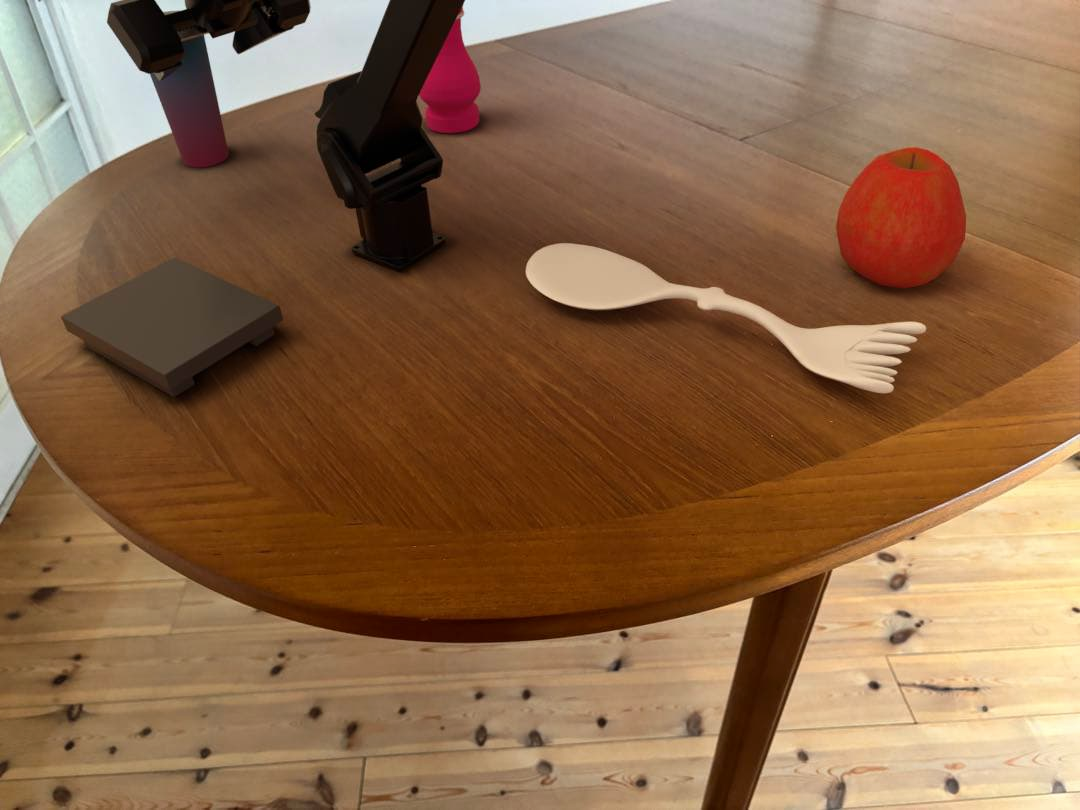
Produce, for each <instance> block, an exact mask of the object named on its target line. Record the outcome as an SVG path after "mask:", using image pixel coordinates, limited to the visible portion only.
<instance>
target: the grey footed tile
mask: <svg viewBox="0 0 1080 810" xmlns="http://www.w3.org/2000/svg"><path fill="white" fill-rule="evenodd" d="M60 318H61V321H62V322H63V325H64V327H65V329H66V332H68V333H69V334H72V335H73V336H75V337H77V338H78V339H81V340H82V341H83V342H84V345H85V347H86V348H87V349H89V350H91V351H93V352H94V353H96V354H98V355H99V356H101V357H103V358H105V359H107V360H108V361H110V362H112V363H114V364H115V365H117V366H119V367H120V368H122V369H124V370H126V371H127V372H129V373H131V374H132V375H134V376H136V377H138V378H140V379H141V380H143V381H145V382H146V383H148V384H150V385H151V386H153V387H155V388H157V389H159V390H160V391H162V392H164V393H166V394H167V395H169V396H171V397H173V398H176V397H177V396H179V395H180V394H183V392H185V391H187V390H188V389H190V388H192V387H194V386H195V385H196V383H195V381H194V378H193V377H194V376H196V375H198V374H200V373H201V372H203V371H204V370H206V369H207V368H209V367H210V366H212V365H214V364H215V363H217V362H219V361H220V360H222V359H224V358H225V357H226V356H228V355H229V354H231V353H233V352H234V351H237V350H238V349H239V348H241V347H243V346H244V345H246V344H247V343H249V344H251V345H252V346H253V345H254V346H258V345H261V344H262V343H264V342H265V341H266V340H268V339H270V338H272V336H274V335H275V330H274V327H275V326H276V325H278V324H280V323H281V322H283V321H284V318H283V314H282V310H281V307H280V304H278V303H276V302H273V301H271V300H269V299H267V298H264V297H262V296H260V295H259V294H256V293H253V292H251V291H249V290H247V289H245V288H243V287H241V286H238V285H236V284H233V283H232V282H229V281H228V280H225V279H223V278H221V277H218V276H216V275H214V274H212V273H210V272H207V271H206V270H203V269H201V268H199V267H196V266H194V265H192V264H190V263H187V262H186V261H184V260H181V259H179V258H177V257H172V258H170V259H168V260H167V261H165V262H162V263H161V264H159V265H157V266H155V267H153V268H150V269H149V270H147V271H145V272H143V273H141V274H139V275H138V276H135V277H133V278H132V279H129V280H127V281H126V282H124V283H122V284H120V285H118V286H116V287H114V288H113V289H111V290H109V291H106V292H105V293H103V294H100V295H99V296H97V297H95V298H93V299H91V300H89V301H87V302H85V303H83V304H82V305H80V306H77V307H76V308H74V309H72V310H70V311H67V312H66V313H64V314H62V315H60Z"/></svg>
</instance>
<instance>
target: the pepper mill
mask: <svg viewBox="0 0 1080 810" xmlns="http://www.w3.org/2000/svg"><path fill="white" fill-rule="evenodd" d="M464 15H465V10H464V5H463V6H462V8H461V10H460V12H459V14H458V16H457V18H456V20H455V22H454V24H453V26H452V28H451V30H450V32H449V34H448V36H447V38H446V40H445V43H444V45H443V47H442V49H441V51H440V53H439V55H438V57H437V59H436V61H435V63H434V65H433V67H432V69H431V71H430V73H429V75H428V77H427V79H426V81H425V83H424V85H423V87H422V89H421V91H420V93H419V96H418V97H419V98H420V99H421V100H422V101H423V103H424V104H425V105H427V107H426V108H425V110H424V115H425V124H426V126H427V128H428V129H429V130H431V131H433V132H436V133H440V134H458V133H459V134H460V133H463V132H467V131H469V130H472V129H474V128H476V127H477V126H478V125H479V123H480V110H479V105H478V104H477V103H476V102H475V101H476V100H477V99H478V97H479V96H480V93H481V90H482V89H481V88H482V85H481V80H480V75H479V73H478V70H477V67H476V65H475V63H474V61H473V59H472V57H471V56H470V54H469V53H468V51H467V50H468V49H467V48H466V46H465V44H464V43H465V42H464V39H463V33H462V32H463V31H462V18H463V16H464Z"/></svg>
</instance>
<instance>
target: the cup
mask: <svg viewBox="0 0 1080 810" xmlns="http://www.w3.org/2000/svg"><path fill="white" fill-rule="evenodd" d="M178 11H179V10H170V11H167V10H166V11H163V13H164V14H165V15H168V14H171V13H175V12H178ZM182 45H183V49H184V55H183V59H181V60H180V61H181V62H182V66H180V67H179V68H178V69H176V70H175V71H174V72H173V73H172V74H170V75H169V76H168V77H166V78H165V79H163V80H161V81H159V80H158V78H157V77H156V75H155V74H154V72H153V73H150V74H149V75H150V76H149V77H150V78H151V82H152V83H153V87H154V89H155V91H156V93H157V97H158V100H159V102H160V103H161V107H162V109H163V112H164V115H165V118H166V120H167V123H168V125H169V128H170V131H171V134H172V136H173V139H174V141H175V144H176V147H177V149H178V151H179V154H180V157H181V159H182V162H183V164H184V165H186V166H187V167H189V168H207V167H212V166H216V165H218V164H220V163H223V162H224V161H226V159H228V157H229V155H230V153H229V148H228V145H227V144H228V142H227V139H226V134H225V129H224V124H223V120H222V114H221V109H220V105H219V100H218V96H217V91H216V86H215V81H214V77H213V72H212V67H211V62H210V61H211V60H210V58H209V52H208V48H207V43H206V37H205V35H202V36H198V37H195V38H192V39H189V40H186V41H182Z"/></svg>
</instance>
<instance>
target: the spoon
mask: <svg viewBox="0 0 1080 810" xmlns="http://www.w3.org/2000/svg"><path fill="white" fill-rule="evenodd" d="M525 277H526V278H527V280H528V282H529V283H530V284H531V285H532V286H533V288H534V289H536V290H537V291H538V292H540V293H541V295H544V296H545V297H547V298H549V299H551V300H552V301H555V302H557V303H560V304H562V305H564V306H568V307H572V308H575V309H576V308H577V309H581V310H588V311H589V310H590V311H591V310H592V311H608V310H609V311H611V310H617V309H624V308H630V307H634V306H639V305H640V306H641V305H644V304H648V303H652V302H656V301H662V300H668V299H683V300H690V301H692V302H696V305H697V308H699V309H700V310H703V311H712V310H713V311H714V310H716V311H717V310H718V311H723V312H727V313H732V314H735V315H739V316H742V317H745V318H747V319H749V320H751V321H753V322H755V323H757V324H758V325H760V326H762V328H763V327H764V329H765V330H767V332H769V333H770V334H772V335H773V336H774V337H775V338H776V339H777V340H779V341H780V342H781V344H783V346H784V347H785V348H786V349H787V350H788V352H789V353H790V354H791V355H792V356H793V357H794V359H796V360H797V362H798V363H799V364H800V365H802V367H804V368H805V369H807V370H808V371H809V372H812V373H814V374H815V375H818V376H821V377H824V378H827V379H830V380H833V381H837V382H840V383H844V384H847V385H850V386H852V387H855V388H858V389H860V390H864V391H868V392H871V393H877V394H890V393H892V392H893V391H894V389H895V388H894V385H893V384H892V383H894V382H895V378H894V377H892V376H896V375H897V374H898V371H897V370H896V369H892V368H889V367H893V366H898V365H900V364H902V360H901V359H900V358H898V357H895V356H890V355H901V354H905V353H909V352H910V351H911V348H910V347H909V346H906V345H909V344H913V343H916V342H917V341H918V339H917V338H916V337H915V336H914V335H921V334H924V333H925V332H926V331H927V326H925V324H924V323H921V322H917V321H897V322H887V323H878V324H868V325H867V324H865V325H864V324H863V325H862V324H847V325H846V324H845V325H833V326H824V327H818V328H805V327H799V326H796V325H793V324H791V323H789V322H787V321H786V320H784V319H782V318H781V317H779V316H777V315H776V314H774V313H772V312H771V311H769V310H767V309H765V308H763V306H759V305H758V304H755V303H753V302H750V301H748V300H745V299H741V298H739V297H735V296H732V295H729V294H728V293H725V290H724V289H723V288H721V287H717V286H711V287H706V288H701V287H695V286H689V285H684V284H676V283H671V282H669V281H667V280H665V279H664V278H663V277H661V276H660V275H658V274H657V273H656V272H654V271H653V270H651V268H649V267H647V266H646V265H644V264H642V263H640V262H638V261H637V260H633V259H631V258H629V257H626V256H624V255H621V254H618V253H616V252H613V251H611V250H607V249H604V248H601V247H597V246H592V245H587V244H578V243H568V242H561V243H554V244H549V245H546V246H543V247H542V248H540V249H538V250H537V251H535V252H534V253H533V254H532V255H531V257H530V258H529V259H528V261H527V263H526V266H525ZM912 335H913V336H912Z"/></svg>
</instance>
